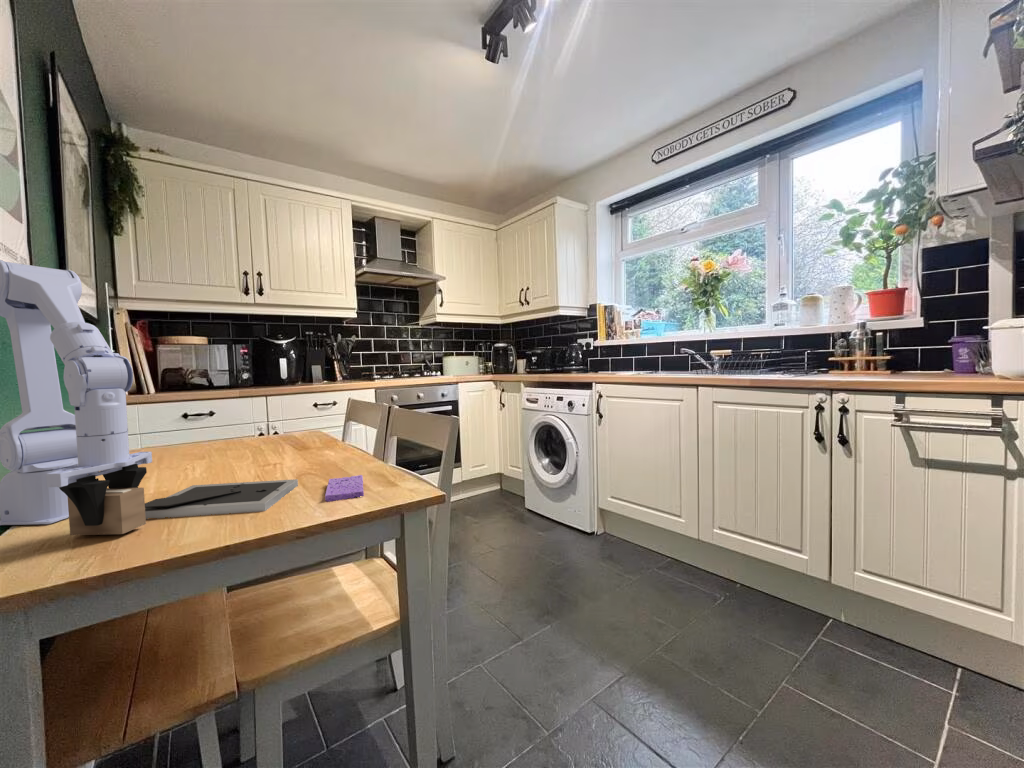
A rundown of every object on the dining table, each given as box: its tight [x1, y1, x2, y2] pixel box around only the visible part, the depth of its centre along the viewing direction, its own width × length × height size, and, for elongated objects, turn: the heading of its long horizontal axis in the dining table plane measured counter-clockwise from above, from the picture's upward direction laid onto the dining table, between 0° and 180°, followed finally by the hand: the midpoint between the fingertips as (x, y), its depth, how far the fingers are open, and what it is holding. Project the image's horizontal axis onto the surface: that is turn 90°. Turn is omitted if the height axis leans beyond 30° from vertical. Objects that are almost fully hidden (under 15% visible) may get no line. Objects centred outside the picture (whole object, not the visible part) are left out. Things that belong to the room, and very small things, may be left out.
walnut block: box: [68, 487, 147, 536], centre depth 64 cm, size 8×4×6 cm, turn 90°
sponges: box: [324, 474, 365, 503], centre depth 84 cm, size 7×13×2 cm, turn 21°
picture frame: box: [145, 478, 299, 520], centre depth 79 cm, size 16×3×21 cm
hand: (108, 519), depth 64 cm, fingers closed on walnut block, 4 cm apart
